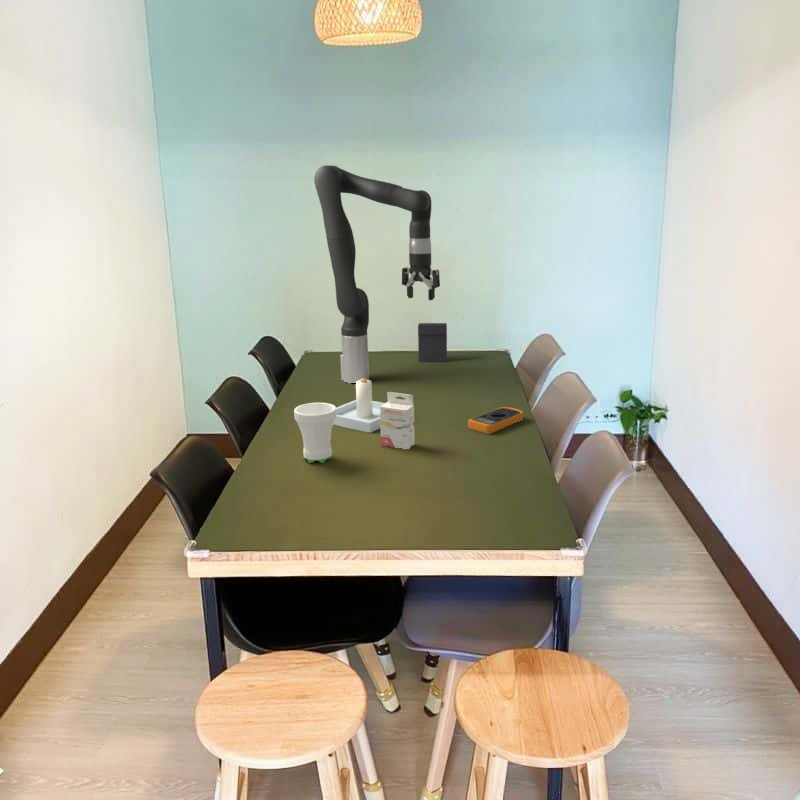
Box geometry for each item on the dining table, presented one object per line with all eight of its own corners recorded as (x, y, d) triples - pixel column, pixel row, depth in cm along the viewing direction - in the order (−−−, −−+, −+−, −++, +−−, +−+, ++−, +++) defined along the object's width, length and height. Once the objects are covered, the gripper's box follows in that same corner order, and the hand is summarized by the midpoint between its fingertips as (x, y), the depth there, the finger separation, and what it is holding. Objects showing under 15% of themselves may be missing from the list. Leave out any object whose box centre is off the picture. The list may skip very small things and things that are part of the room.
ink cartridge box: (380, 446, 220) (378, 395, 216) (387, 440, 225) (386, 391, 220) (408, 450, 217) (407, 399, 212) (415, 444, 221) (414, 394, 217)
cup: (305, 469, 205) (302, 417, 201) (291, 456, 214) (287, 406, 210) (345, 461, 210) (343, 410, 206) (329, 448, 219) (326, 400, 215)
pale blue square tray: (323, 422, 241) (323, 413, 240) (360, 407, 255) (359, 398, 254) (369, 432, 231) (369, 423, 230) (405, 416, 245) (405, 407, 244)
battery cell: (353, 416, 242) (352, 380, 239) (363, 412, 246) (362, 376, 243) (366, 419, 240) (364, 382, 236) (375, 415, 243) (374, 378, 240)
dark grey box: (447, 359, 312) (446, 322, 307) (446, 362, 308) (446, 324, 303) (419, 359, 313) (418, 322, 308) (418, 362, 309) (417, 324, 304)
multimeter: (526, 421, 239) (526, 410, 238) (489, 436, 227) (489, 425, 226) (503, 415, 245) (504, 404, 244) (466, 430, 233) (466, 419, 232)
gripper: (396, 251, 268) (397, 299, 273) (431, 253, 260) (432, 302, 265) (409, 249, 274) (410, 295, 279) (443, 251, 266) (444, 299, 271)
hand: (420, 298), depth 272 cm, fingers open, 8 cm apart
